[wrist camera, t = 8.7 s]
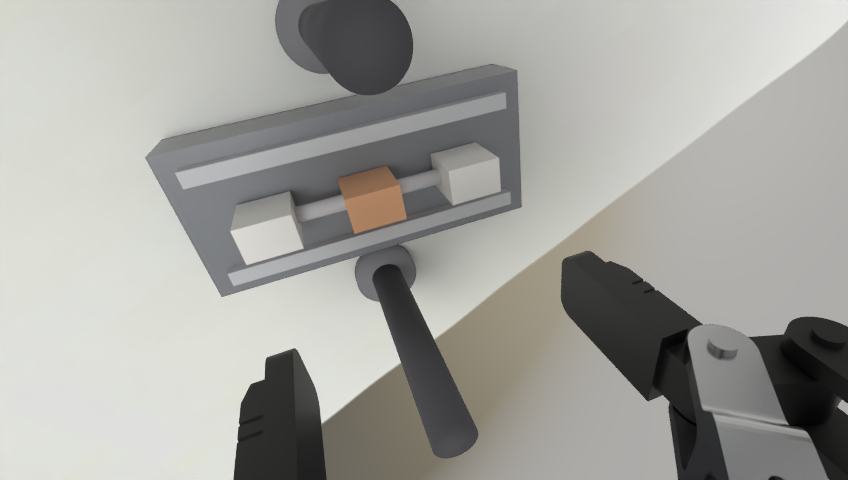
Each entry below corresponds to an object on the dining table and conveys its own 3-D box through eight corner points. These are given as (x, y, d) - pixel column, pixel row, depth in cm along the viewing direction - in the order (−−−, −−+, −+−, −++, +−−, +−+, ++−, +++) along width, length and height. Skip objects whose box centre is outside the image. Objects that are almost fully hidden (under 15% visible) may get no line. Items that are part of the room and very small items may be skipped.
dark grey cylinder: (276, -31, 18) (269, -99, 7) (363, -10, 20) (473, -40, 8) (274, 64, 20) (267, 129, 9) (355, 76, 21) (437, 147, 10)
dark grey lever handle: (357, 243, 26) (416, 413, 15) (416, 243, 28) (510, 399, 16) (352, 294, 28) (401, 482, 17) (407, 292, 29) (487, 464, 18)
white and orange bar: (475, 142, 22) (498, 157, 19) (478, 172, 23) (501, 191, 20) (236, 205, 20) (230, 231, 17) (250, 236, 21) (246, 265, 18)
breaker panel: (491, 64, 23) (522, 71, 20) (499, 189, 27) (526, 210, 24) (162, 139, 20) (140, 161, 17) (227, 267, 24) (220, 303, 21)
